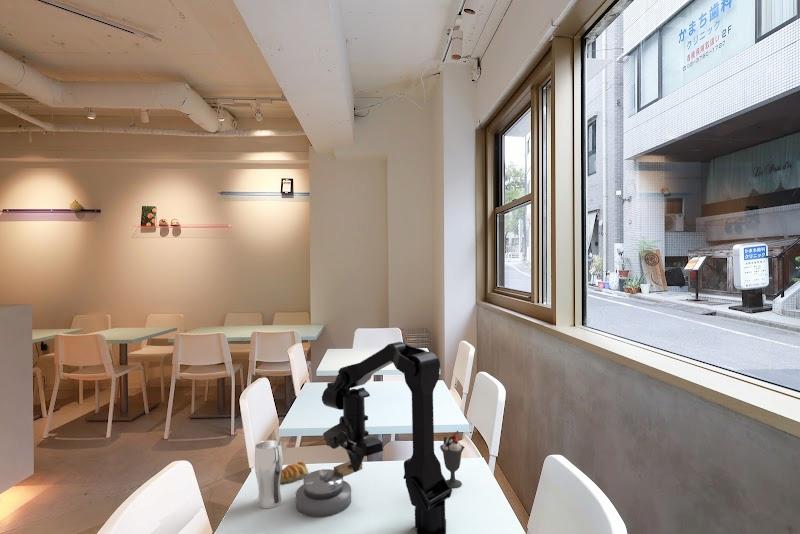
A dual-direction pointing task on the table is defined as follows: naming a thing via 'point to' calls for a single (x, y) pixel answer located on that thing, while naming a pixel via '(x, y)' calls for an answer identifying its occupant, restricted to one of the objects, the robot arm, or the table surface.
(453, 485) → the sundae
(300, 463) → the pastry
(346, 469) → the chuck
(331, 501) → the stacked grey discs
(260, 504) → the beer glass
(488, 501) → the table surface
